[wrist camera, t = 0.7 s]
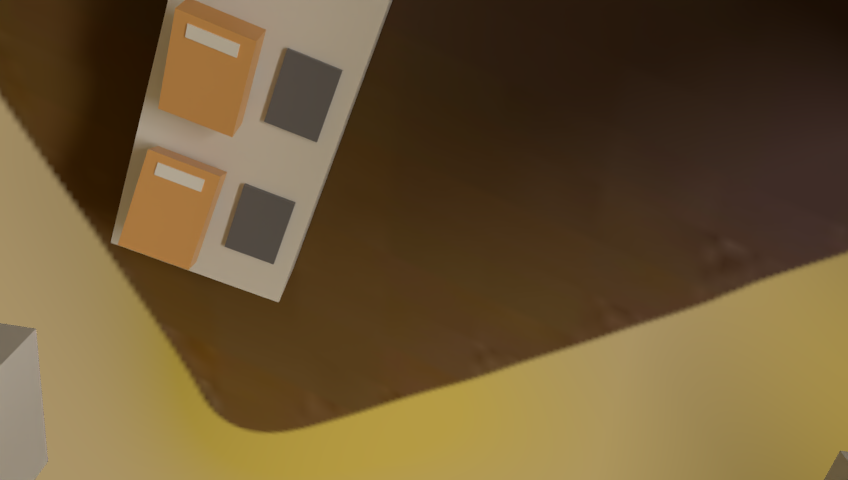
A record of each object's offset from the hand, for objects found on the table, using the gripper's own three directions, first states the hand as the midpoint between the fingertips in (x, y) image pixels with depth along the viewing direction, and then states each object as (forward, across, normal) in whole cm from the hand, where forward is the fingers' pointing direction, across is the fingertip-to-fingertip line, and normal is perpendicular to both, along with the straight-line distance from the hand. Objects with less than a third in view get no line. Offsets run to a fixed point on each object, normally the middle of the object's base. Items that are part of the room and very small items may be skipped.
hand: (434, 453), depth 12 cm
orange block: (+21, -10, 0) cm, 23 cm away
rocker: (+21, -12, -7) cm, 25 cm away
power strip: (+27, -8, +3) cm, 28 cm away
